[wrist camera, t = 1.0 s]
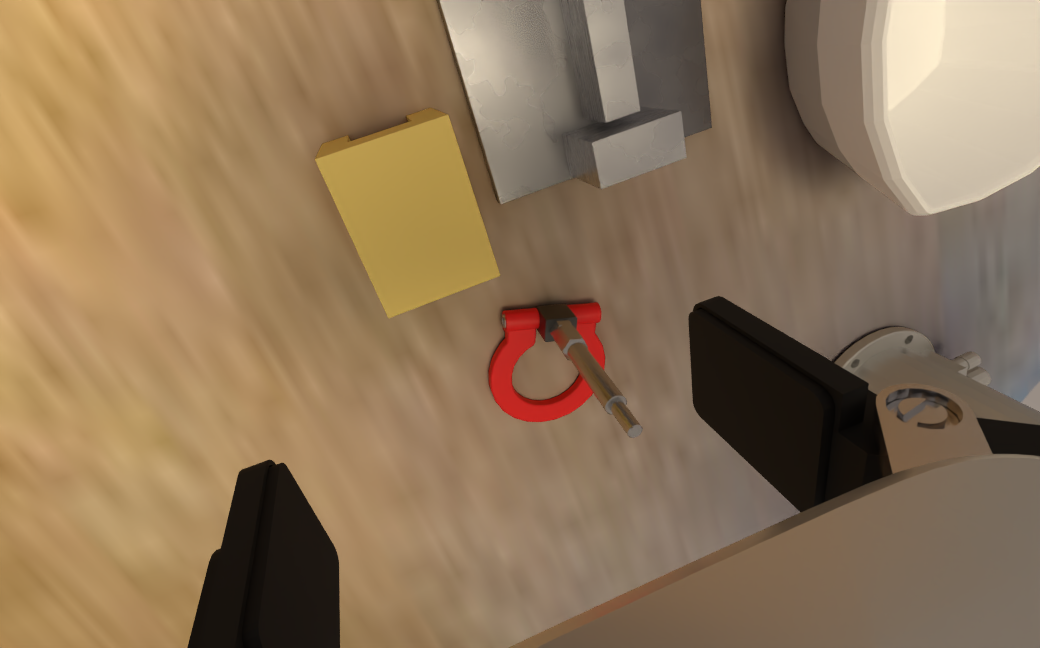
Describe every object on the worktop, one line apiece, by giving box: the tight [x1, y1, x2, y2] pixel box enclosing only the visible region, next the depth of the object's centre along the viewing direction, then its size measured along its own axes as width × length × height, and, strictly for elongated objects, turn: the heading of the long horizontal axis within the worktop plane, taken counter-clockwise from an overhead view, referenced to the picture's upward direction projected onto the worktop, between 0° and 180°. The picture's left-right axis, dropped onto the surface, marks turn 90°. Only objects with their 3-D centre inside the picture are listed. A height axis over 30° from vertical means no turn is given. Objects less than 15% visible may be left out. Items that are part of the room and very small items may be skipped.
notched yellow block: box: [315, 108, 500, 318], centre depth 27 cm, size 6×8×6 cm
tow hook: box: [489, 302, 642, 438], centre depth 32 cm, size 8×13×9 cm
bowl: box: [784, 0, 1040, 216], centre depth 29 cm, size 18×18×9 cm
